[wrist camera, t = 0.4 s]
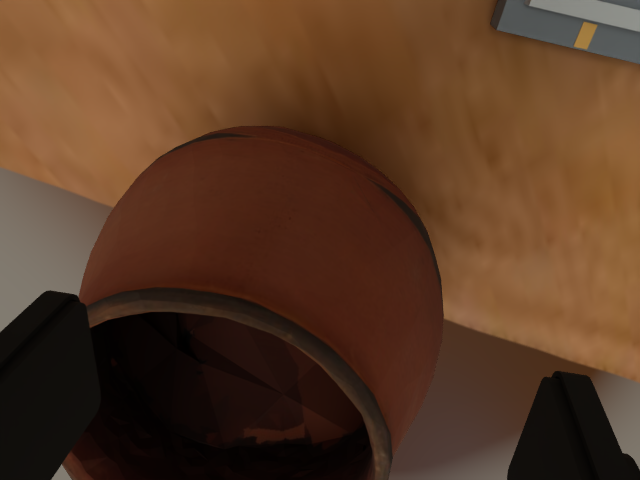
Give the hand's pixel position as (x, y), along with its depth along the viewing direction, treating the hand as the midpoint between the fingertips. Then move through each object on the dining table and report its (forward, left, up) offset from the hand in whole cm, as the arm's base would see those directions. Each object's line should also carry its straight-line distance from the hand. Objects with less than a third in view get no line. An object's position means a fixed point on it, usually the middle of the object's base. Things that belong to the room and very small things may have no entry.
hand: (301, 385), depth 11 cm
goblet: (+10, -3, -30) cm, 32 cm away
